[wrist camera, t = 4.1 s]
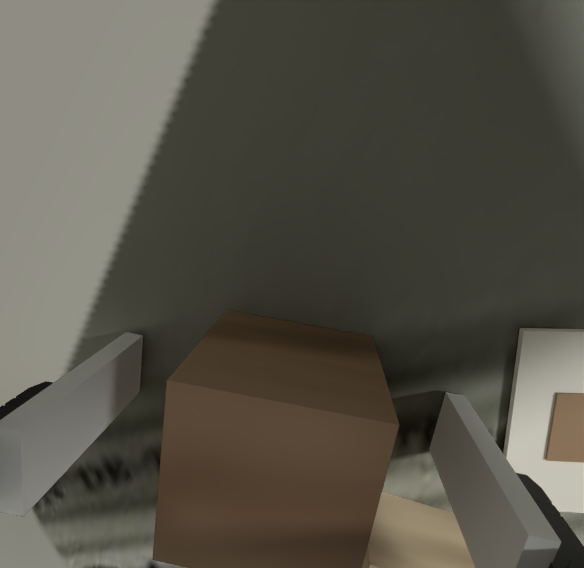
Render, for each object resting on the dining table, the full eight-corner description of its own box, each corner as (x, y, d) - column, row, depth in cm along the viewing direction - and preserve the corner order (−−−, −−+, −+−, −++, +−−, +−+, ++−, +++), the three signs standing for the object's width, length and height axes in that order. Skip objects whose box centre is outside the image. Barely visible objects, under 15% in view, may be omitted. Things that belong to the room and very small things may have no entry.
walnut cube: (227, 309, 16) (166, 380, 10) (372, 335, 15) (399, 424, 9) (212, 434, 17) (152, 559, 11) (344, 460, 17) (352, 603, 11)
